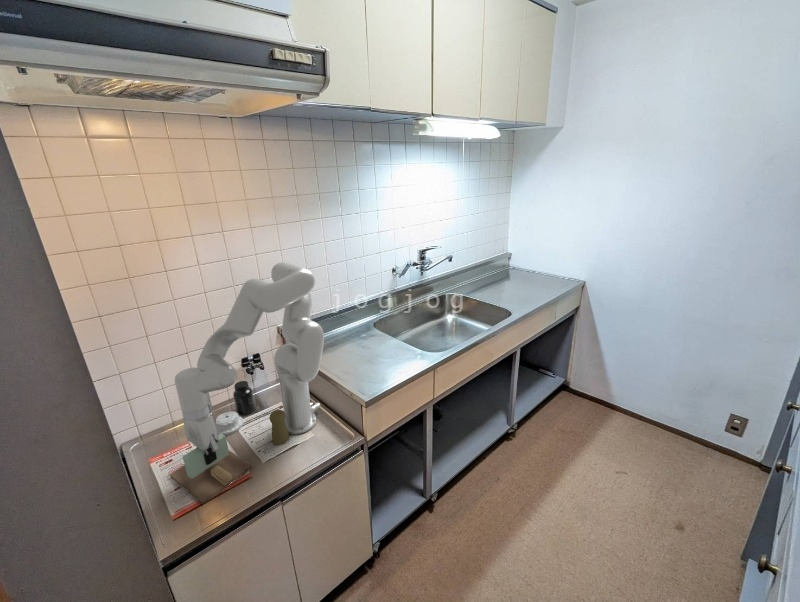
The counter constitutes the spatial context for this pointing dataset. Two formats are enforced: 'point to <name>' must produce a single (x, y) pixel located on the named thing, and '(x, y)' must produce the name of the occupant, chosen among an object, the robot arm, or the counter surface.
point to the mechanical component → (228, 423)
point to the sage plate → (197, 461)
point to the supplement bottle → (243, 398)
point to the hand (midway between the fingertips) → (208, 459)
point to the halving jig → (212, 477)
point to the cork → (279, 427)
